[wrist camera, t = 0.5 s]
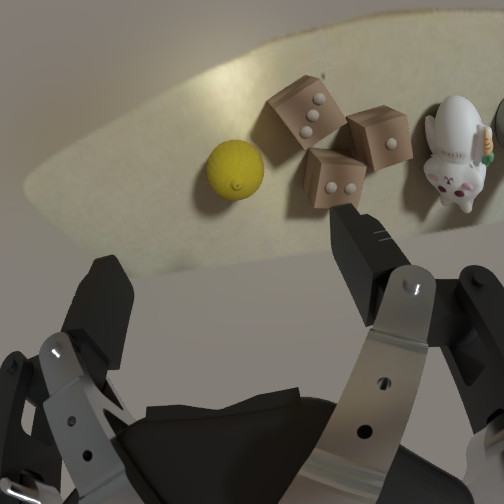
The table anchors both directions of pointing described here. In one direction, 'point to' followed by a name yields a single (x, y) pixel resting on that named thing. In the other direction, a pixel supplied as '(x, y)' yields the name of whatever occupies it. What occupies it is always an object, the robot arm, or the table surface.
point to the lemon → (235, 170)
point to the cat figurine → (457, 152)
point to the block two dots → (333, 178)
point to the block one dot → (380, 137)
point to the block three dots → (307, 110)
